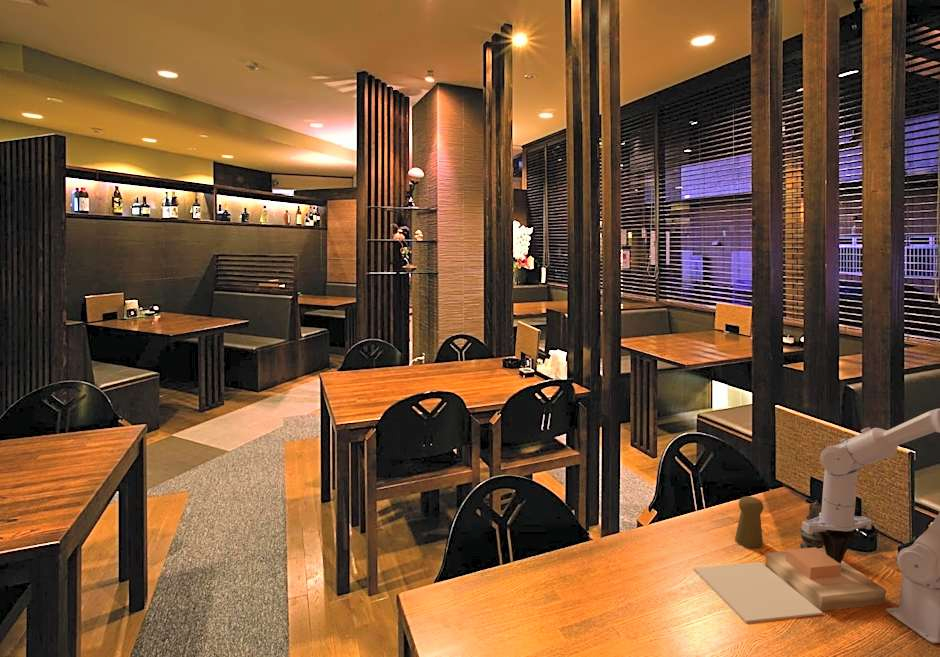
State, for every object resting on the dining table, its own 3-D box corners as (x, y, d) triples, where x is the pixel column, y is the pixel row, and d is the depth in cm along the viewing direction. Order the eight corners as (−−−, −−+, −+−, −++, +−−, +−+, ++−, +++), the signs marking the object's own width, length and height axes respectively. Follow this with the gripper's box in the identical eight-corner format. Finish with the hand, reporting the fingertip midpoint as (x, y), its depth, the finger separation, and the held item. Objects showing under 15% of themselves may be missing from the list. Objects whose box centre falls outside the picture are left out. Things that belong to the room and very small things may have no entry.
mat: (822, 614, 106) (822, 612, 106) (745, 622, 103) (745, 620, 103) (760, 563, 123) (760, 562, 123) (693, 569, 121) (693, 568, 121)
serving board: (884, 603, 109) (886, 589, 108) (820, 610, 107) (821, 596, 106) (822, 560, 124) (822, 548, 124) (765, 565, 122) (766, 553, 122)
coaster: (840, 576, 113) (841, 564, 113) (809, 579, 112) (810, 567, 112) (814, 558, 120) (815, 547, 119) (785, 560, 119) (786, 549, 118)
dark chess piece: (832, 556, 126) (836, 506, 125) (804, 553, 127) (807, 504, 126) (821, 543, 132) (825, 495, 130) (794, 541, 133) (798, 493, 131)
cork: (729, 539, 134) (731, 496, 133) (746, 534, 137) (749, 491, 135) (751, 551, 129) (753, 506, 127) (768, 545, 131) (771, 501, 130)
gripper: (853, 490, 120) (849, 549, 121) (793, 495, 118) (789, 554, 119) (882, 504, 113) (876, 567, 114) (818, 509, 111) (813, 573, 112)
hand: (833, 562), depth 116 cm, fingers closed
